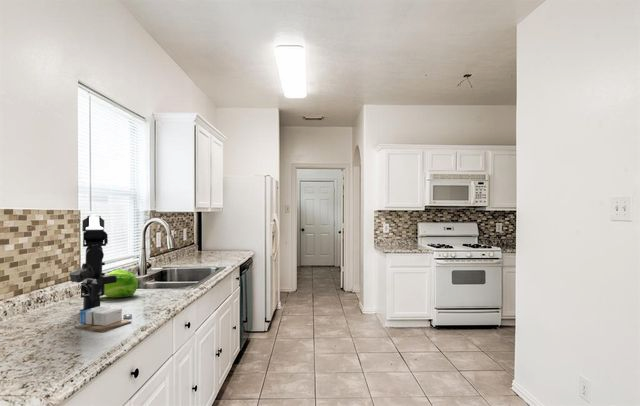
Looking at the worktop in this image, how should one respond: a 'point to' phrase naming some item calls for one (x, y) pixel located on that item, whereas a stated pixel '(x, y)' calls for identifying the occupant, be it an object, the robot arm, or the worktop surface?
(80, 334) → the worktop surface
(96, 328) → the walnut board
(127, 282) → the lettuce
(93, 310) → the ink box
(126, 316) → the silver domed disc
